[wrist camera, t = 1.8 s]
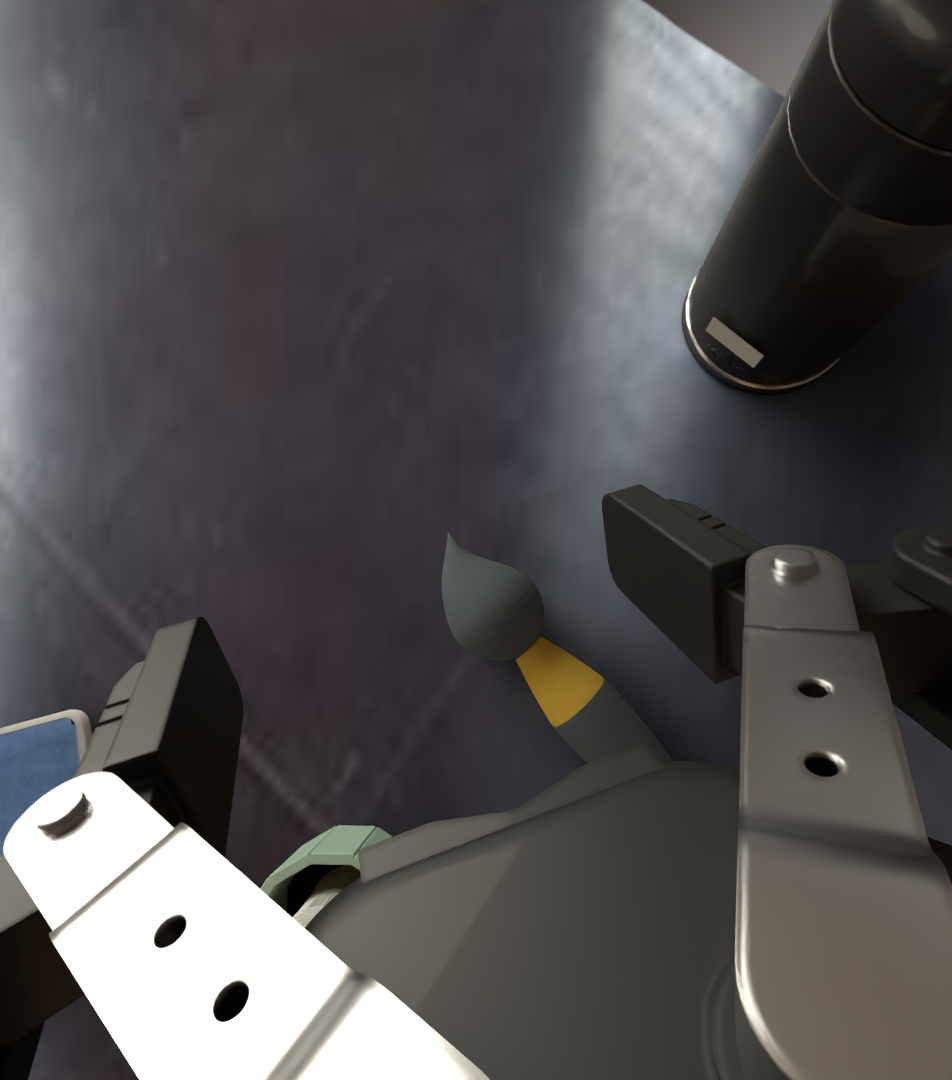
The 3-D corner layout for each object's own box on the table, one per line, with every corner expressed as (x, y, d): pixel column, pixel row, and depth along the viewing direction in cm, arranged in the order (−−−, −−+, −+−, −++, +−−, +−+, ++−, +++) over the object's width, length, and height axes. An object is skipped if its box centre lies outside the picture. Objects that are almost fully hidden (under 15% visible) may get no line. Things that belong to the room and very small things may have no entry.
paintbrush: (742, 774, 32) (782, 798, 27) (680, 848, 31) (710, 886, 26) (466, 527, 35) (457, 508, 30) (407, 591, 35) (388, 582, 30)
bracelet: (330, 795, 33) (301, 818, 28) (460, 880, 32) (450, 918, 27) (248, 936, 32) (205, 982, 27) (379, 1029, 31) (356, 1093, 26)
